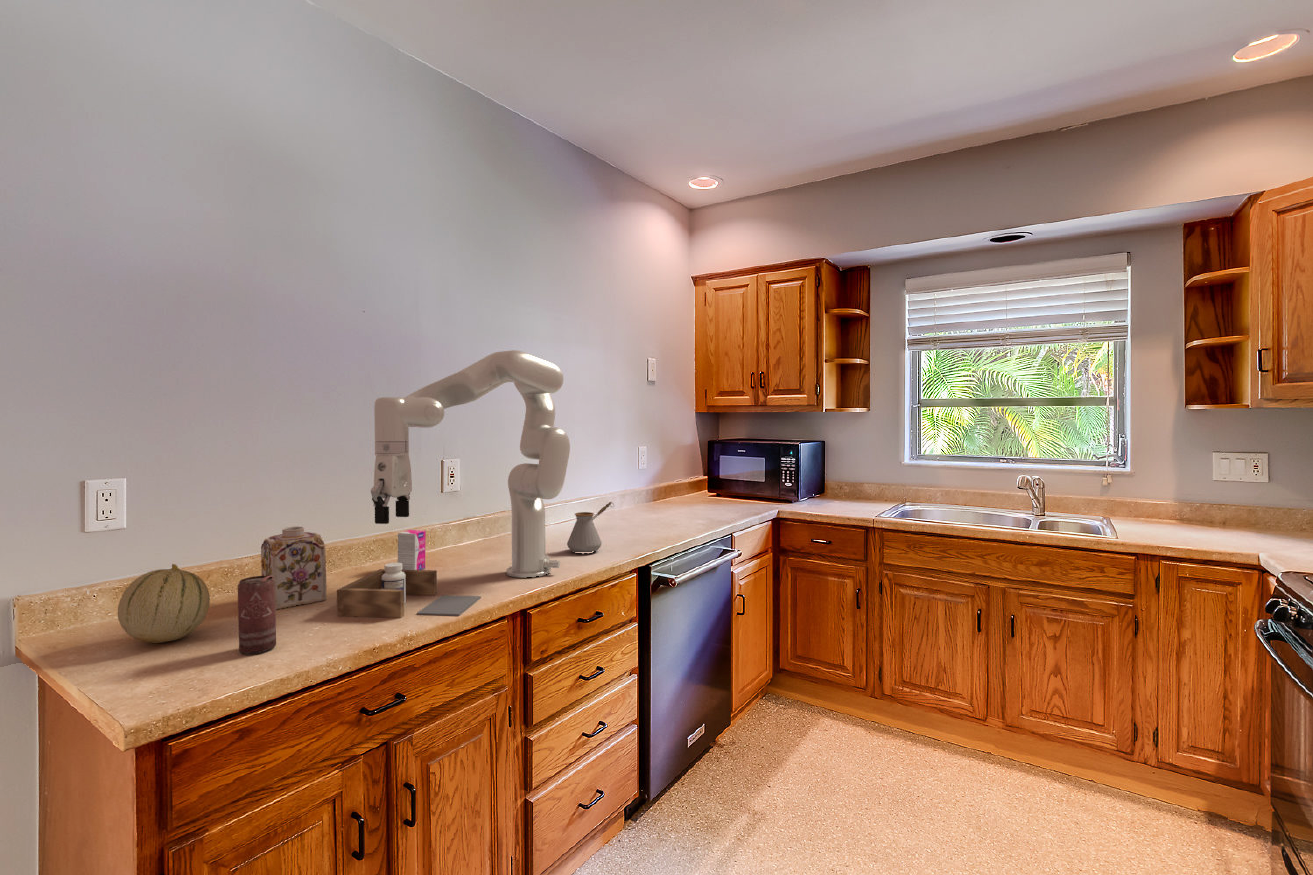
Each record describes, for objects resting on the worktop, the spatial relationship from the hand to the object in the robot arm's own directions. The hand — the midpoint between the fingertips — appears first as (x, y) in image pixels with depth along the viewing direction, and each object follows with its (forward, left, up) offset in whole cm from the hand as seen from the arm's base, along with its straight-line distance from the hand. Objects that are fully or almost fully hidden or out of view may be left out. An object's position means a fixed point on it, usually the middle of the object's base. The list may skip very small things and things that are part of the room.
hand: (392, 520), depth 151 cm
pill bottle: (0, 0, -21) cm, 21 cm away
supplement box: (+11, -32, -21) cm, 40 cm away
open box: (+1, 0, -21) cm, 21 cm away
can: (+12, +30, -21) cm, 38 cm away
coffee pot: (-37, -65, -21) cm, 78 cm away
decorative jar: (+26, -1, -21) cm, 33 cm away
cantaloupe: (+34, +27, -21) cm, 48 cm away
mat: (-14, 0, -20) cm, 25 cm away
